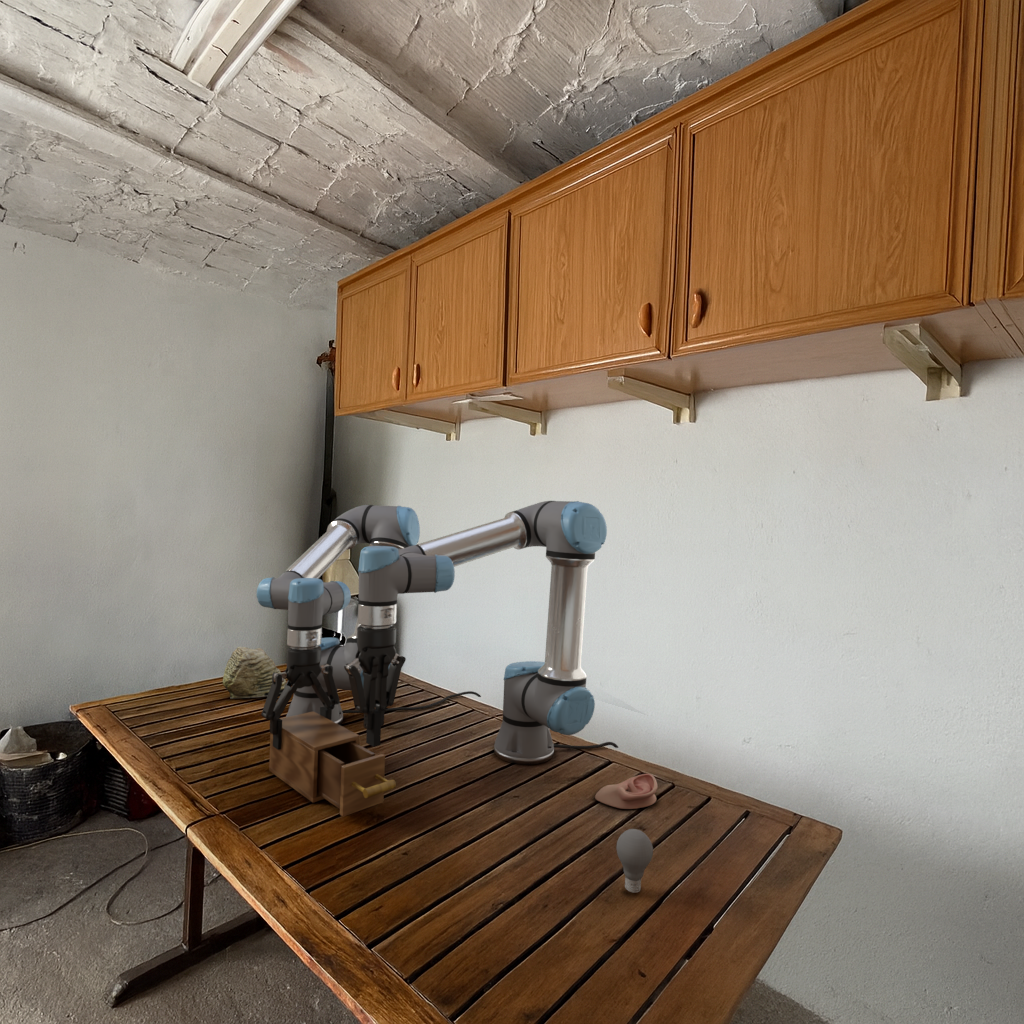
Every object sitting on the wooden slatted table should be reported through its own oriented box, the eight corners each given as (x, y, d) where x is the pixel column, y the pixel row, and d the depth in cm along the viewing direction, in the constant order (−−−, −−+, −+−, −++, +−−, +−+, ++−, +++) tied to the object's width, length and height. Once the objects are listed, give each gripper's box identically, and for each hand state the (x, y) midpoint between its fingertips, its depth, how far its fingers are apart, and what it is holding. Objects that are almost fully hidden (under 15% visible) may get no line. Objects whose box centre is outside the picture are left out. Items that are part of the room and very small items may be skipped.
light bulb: (610, 879, 108) (613, 822, 108) (644, 879, 109) (647, 822, 109) (619, 902, 102) (622, 840, 102) (655, 901, 103) (658, 840, 103)
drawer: (401, 813, 126) (402, 764, 126) (359, 829, 119) (361, 778, 119) (335, 771, 144) (336, 729, 144) (296, 783, 137) (297, 739, 137)
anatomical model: (594, 786, 135) (598, 765, 146) (593, 805, 135) (597, 782, 146) (658, 795, 132) (657, 772, 143) (657, 814, 132) (656, 790, 143)
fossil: (218, 695, 195) (220, 647, 195) (278, 685, 208) (279, 640, 207) (228, 703, 189) (230, 653, 188) (289, 692, 201) (290, 645, 201)
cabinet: (358, 787, 138) (359, 735, 138) (312, 802, 131) (314, 747, 130) (312, 758, 153) (313, 711, 152) (269, 770, 145) (270, 720, 145)
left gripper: (261, 656, 134) (258, 759, 135) (357, 642, 151) (353, 734, 151) (247, 649, 140) (243, 749, 140) (341, 637, 156) (337, 725, 157)
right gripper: (358, 632, 117) (354, 758, 118) (415, 624, 126) (411, 741, 127) (337, 625, 122) (333, 746, 123) (393, 618, 132) (390, 730, 132)
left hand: (300, 741), depth 146 cm, fingers closed on cabinet, 11 cm apart
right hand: (373, 743), depth 125 cm, fingers closed
